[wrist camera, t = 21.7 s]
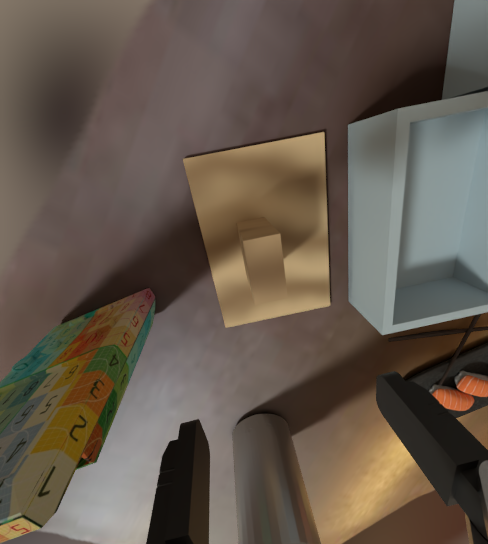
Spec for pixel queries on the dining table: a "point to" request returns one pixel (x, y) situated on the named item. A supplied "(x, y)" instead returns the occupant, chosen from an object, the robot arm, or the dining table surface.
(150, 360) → the dining table surface
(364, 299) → the toolbox
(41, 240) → the dining table surface
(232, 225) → the lid
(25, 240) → the dining table surface
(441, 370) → the sushi plate
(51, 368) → the puzzle game
